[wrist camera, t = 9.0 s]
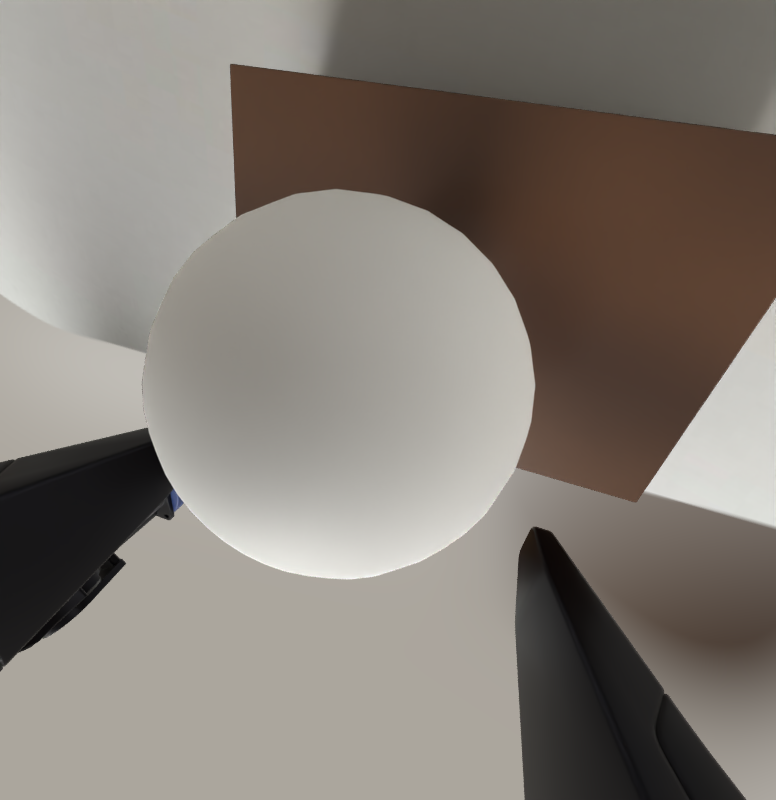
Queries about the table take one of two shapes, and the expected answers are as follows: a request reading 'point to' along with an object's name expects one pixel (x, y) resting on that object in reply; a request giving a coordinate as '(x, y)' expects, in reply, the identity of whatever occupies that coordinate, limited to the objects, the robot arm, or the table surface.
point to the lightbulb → (338, 384)
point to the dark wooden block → (554, 240)
